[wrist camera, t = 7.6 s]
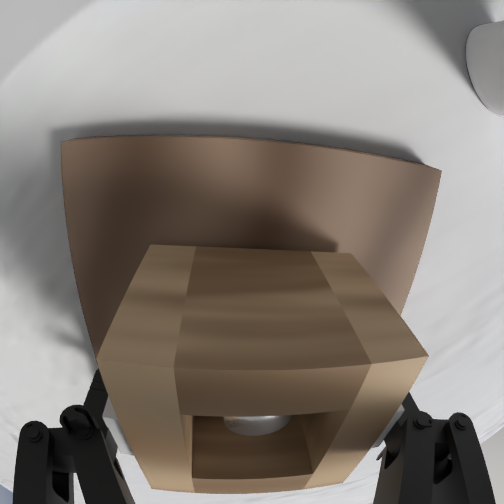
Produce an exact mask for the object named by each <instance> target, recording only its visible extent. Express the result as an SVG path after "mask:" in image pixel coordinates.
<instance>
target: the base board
mask: <svg viewBox="0 0 504 504" xmlns="http://www.w3.org/2000/svg"><path fill="white" fill-rule="evenodd" d="M61 164H62V182H63V195H64V205H65V215H66V223H67V231H68V238H69V245H70V251H71V257H72V263H73V268H74V273H75V278H76V283H77V288H78V293H79V297H80V301H81V306H82V310H83V314H84V318H85V322H86V325H87V329H88V333H89V336H90V340H91V343H92V347H93V350H94V353H95V356H96V358H97V355H98V353H99V351H100V348H101V346H102V344H103V341H104V339H105V337H106V334H107V332H108V330H109V328H110V325H111V323H112V321H113V319H114V317H115V315H116V312H117V310H118V308H119V306H120V304H121V302H122V300H123V298H124V296H125V293H126V291H127V289H128V287H129V285H130V283H131V281H132V279H133V277H134V275H135V273H136V271H137V269H138V267H139V265H140V263H141V262H142V260H143V258H144V256H145V254H146V252H147V250H148V248H149V246H150V245H175V246H199V247H222V248H245V249H268V250H291V251H313V252H335V253H352V255H353V256H354V257H355V258H356V260H357V261H358V262H359V263H360V265H361V266H362V267H363V268H364V269H365V271H366V272H367V273H368V275H369V276H370V277H371V278H372V280H373V281H374V282H375V283H376V285H377V286H378V287H379V289H380V290H381V291H382V292H383V294H384V295H385V296H386V298H387V299H388V300H389V302H390V303H391V304H392V306H393V307H394V308H395V310H396V311H397V312H398V314H399V315H401V313H402V310H403V308H404V305H405V302H406V299H407V297H408V294H409V291H410V288H411V285H412V282H413V279H414V276H415V273H416V270H417V267H418V264H419V261H420V257H421V254H422V251H423V247H424V244H425V240H426V237H427V233H428V229H429V226H430V222H431V218H432V214H433V209H434V205H435V201H436V196H437V192H438V187H439V182H440V177H441V172H442V171H441V170H439V169H436V168H433V167H430V166H428V165H424V164H420V163H416V162H411V161H407V160H402V159H397V158H393V157H388V156H383V155H377V154H372V153H366V152H361V151H355V150H349V149H343V148H336V147H329V146H322V145H315V144H307V143H299V142H290V141H280V140H270V139H258V138H245V137H229V136H208V135H123V136H102V137H87V138H75V139H71V140H67V141H63V142H61Z"/></svg>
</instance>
